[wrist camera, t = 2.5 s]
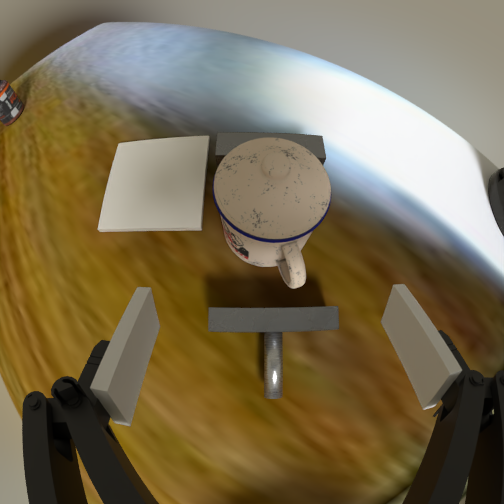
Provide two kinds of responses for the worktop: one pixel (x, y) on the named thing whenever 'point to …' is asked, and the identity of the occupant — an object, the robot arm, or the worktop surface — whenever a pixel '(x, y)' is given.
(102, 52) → the worktop surface
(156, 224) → the tile
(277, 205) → the teacup with lid
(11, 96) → the supplement bottle
